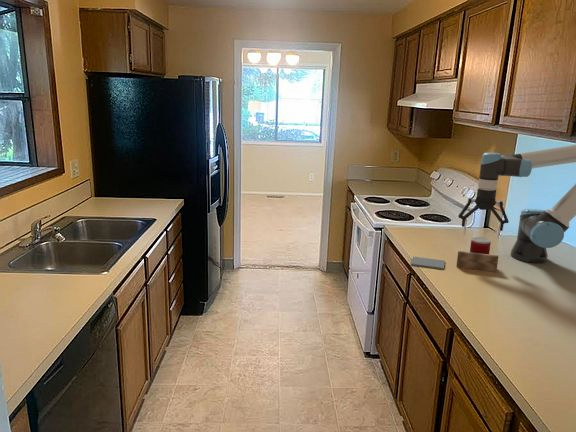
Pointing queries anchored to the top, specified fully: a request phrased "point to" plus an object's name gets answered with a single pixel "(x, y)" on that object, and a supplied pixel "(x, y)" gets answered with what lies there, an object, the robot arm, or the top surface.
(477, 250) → the canned food
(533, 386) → the top surface
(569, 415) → the top surface
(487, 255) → the walnut screen
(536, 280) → the top surface
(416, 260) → the slate mat
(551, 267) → the top surface
